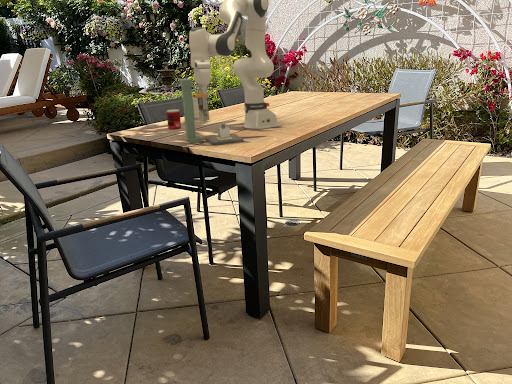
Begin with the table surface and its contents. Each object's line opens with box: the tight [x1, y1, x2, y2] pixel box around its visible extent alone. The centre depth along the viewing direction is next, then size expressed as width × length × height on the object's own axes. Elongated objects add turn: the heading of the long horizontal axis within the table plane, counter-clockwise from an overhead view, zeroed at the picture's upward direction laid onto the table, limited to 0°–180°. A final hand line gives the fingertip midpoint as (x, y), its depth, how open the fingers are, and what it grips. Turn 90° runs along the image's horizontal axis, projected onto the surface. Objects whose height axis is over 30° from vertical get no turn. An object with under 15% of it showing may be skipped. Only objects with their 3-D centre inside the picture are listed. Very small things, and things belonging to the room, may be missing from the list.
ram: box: [192, 92, 208, 118], centre depth 207 cm, size 8×6×12 cm
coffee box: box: [192, 95, 210, 122], centre depth 271 cm, size 9×6×16 cm
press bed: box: [205, 133, 244, 146], centre depth 208 cm, size 16×14×2 cm
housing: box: [217, 123, 231, 139], centre depth 206 cm, size 5×5×7 cm
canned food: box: [166, 108, 182, 131], centre depth 246 cm, size 8×8×11 cm
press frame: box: [179, 78, 202, 144], centre depth 206 cm, size 7×8×31 cm
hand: (202, 93), depth 200 cm, fingers open, 8 cm apart
